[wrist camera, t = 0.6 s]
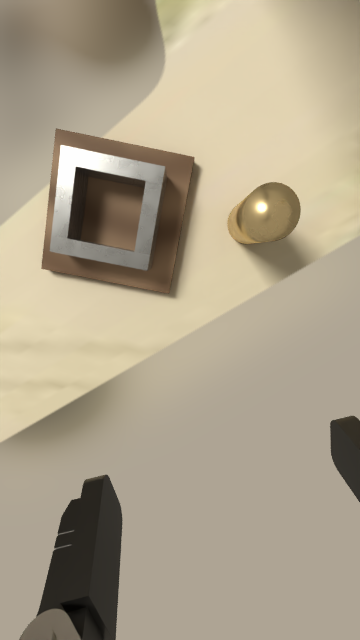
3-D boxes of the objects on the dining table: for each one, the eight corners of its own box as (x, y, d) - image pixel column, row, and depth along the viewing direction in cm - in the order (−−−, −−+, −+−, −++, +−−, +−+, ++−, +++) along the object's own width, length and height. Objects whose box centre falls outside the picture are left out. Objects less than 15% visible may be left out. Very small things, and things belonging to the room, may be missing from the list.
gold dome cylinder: (232, 198, 35) (251, 177, 25) (272, 206, 35) (307, 188, 25) (223, 239, 35) (238, 235, 26) (262, 247, 36) (292, 246, 26)
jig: (61, 133, 33) (37, 111, 28) (193, 161, 34) (195, 144, 28) (47, 267, 36) (23, 270, 31) (169, 291, 37) (166, 298, 31)
